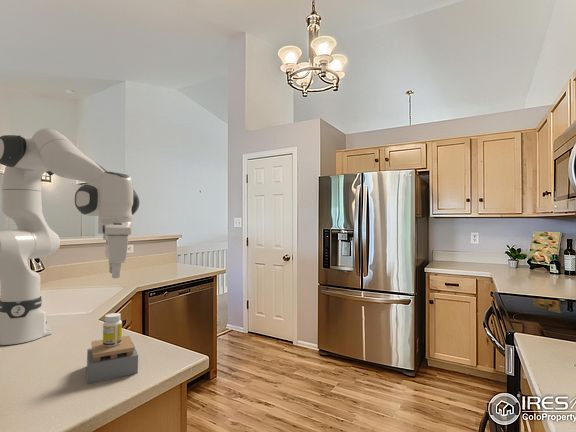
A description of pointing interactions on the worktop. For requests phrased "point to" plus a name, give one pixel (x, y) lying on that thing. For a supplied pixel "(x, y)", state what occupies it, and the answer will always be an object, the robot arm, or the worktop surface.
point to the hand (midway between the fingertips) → (114, 275)
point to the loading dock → (111, 360)
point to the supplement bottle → (112, 330)
